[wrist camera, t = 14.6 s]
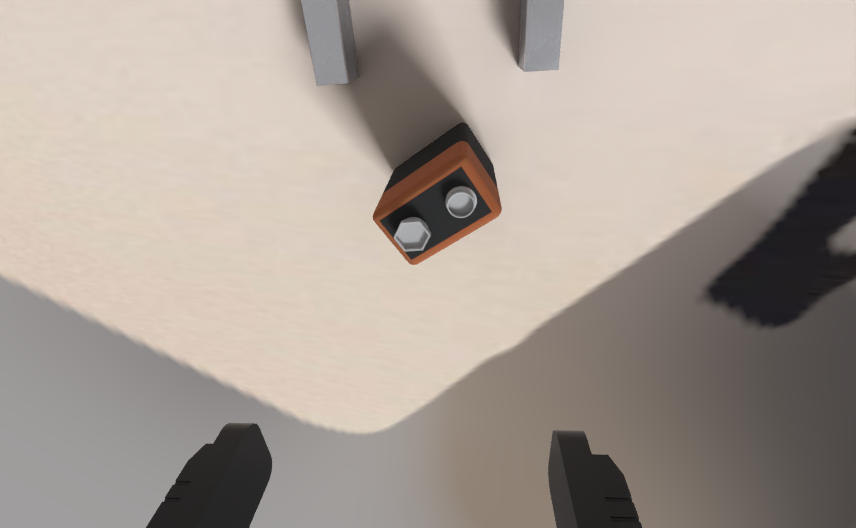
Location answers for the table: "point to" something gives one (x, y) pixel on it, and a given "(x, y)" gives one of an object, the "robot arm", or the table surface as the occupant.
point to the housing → (338, 55)
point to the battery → (439, 196)
